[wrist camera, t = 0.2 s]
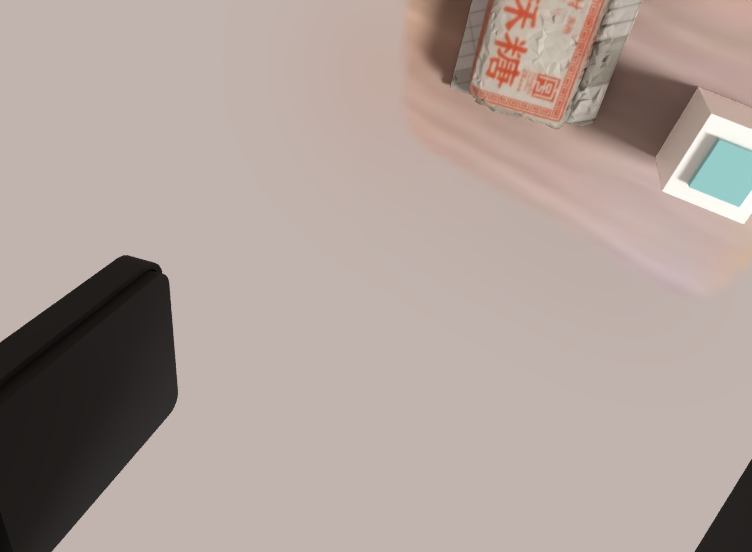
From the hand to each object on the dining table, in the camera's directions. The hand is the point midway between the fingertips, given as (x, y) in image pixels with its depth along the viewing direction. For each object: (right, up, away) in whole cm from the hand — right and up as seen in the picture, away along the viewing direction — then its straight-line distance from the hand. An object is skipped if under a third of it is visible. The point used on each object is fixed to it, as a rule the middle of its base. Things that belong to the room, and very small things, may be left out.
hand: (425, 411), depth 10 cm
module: (+21, +11, +30) cm, 39 cm away
